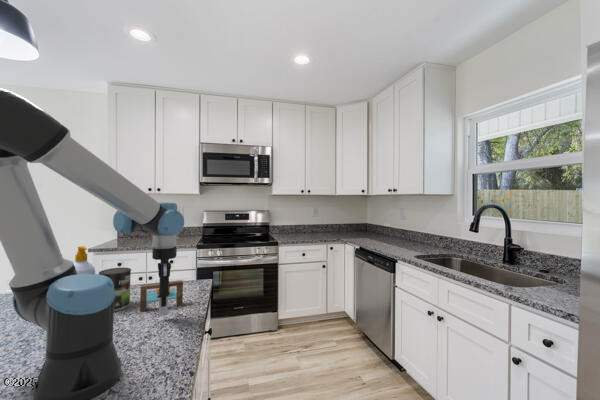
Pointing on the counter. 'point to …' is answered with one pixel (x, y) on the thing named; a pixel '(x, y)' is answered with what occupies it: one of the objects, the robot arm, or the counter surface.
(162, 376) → the counter surface
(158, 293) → the ball
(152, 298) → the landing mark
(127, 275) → the coffee can
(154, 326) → the counter surface
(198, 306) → the counter surface
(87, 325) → the robot arm
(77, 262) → the soap bottle
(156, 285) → the bridge
